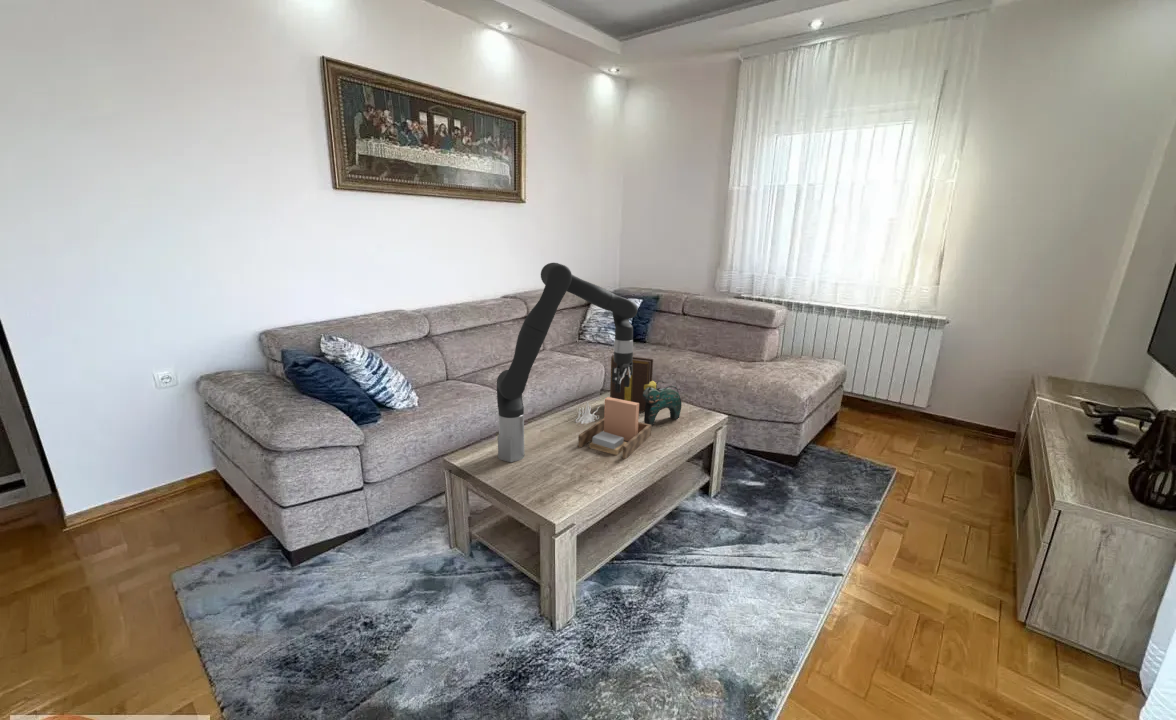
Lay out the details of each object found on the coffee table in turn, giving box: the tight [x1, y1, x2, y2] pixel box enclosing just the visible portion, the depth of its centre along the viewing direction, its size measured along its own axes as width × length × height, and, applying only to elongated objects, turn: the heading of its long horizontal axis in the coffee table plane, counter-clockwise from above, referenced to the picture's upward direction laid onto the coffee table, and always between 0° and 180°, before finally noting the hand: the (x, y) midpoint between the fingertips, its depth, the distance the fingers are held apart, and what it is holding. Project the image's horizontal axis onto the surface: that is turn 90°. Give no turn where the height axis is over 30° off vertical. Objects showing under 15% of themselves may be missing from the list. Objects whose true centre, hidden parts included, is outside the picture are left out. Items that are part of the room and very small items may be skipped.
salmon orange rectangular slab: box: [603, 396, 640, 442], centre depth 201 cm, size 3×14×16 cm, turn 61°
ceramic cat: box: [643, 379, 683, 426], centre depth 218 cm, size 20×6×20 cm, turn 119°
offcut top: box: [591, 431, 625, 449], centre depth 193 cm, size 7×10×2 cm
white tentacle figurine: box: [575, 401, 601, 425], centre depth 220 cm, size 9×12×9 cm
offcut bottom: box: [589, 441, 628, 456], centre depth 193 cm, size 9×12×2 cm
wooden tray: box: [577, 417, 653, 460], centre depth 199 cm, size 25×20×5 cm
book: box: [609, 354, 657, 412], centre depth 233 cm, size 22×8×25 cm, turn 68°
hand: (622, 389), depth 198 cm, fingers open, 8 cm apart
